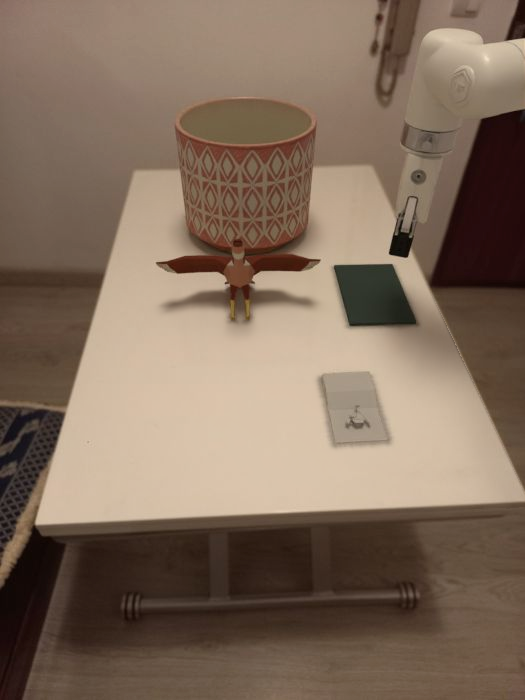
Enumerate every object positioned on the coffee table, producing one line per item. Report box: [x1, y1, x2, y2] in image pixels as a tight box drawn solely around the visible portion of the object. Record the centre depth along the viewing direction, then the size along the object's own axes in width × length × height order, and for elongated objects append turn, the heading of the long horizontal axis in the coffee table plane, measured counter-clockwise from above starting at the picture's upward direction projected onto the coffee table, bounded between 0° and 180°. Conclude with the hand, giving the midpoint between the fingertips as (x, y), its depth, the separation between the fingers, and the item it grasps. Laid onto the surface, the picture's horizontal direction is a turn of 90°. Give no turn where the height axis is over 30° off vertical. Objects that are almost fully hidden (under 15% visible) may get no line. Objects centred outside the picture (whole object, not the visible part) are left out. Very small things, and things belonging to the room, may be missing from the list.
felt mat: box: [333, 263, 418, 327], centre depth 89 cm, size 12×18×1 cm, turn 3°
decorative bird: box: [155, 239, 322, 320], centre depth 81 cm, size 28×18×15 cm, turn 92°
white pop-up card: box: [321, 370, 388, 444], centre depth 68 cm, size 7×12×2 cm, turn 4°
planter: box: [174, 95, 317, 255], centre depth 97 cm, size 27×27×24 cm
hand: (400, 247), depth 78 cm, fingers open, 3 cm apart
